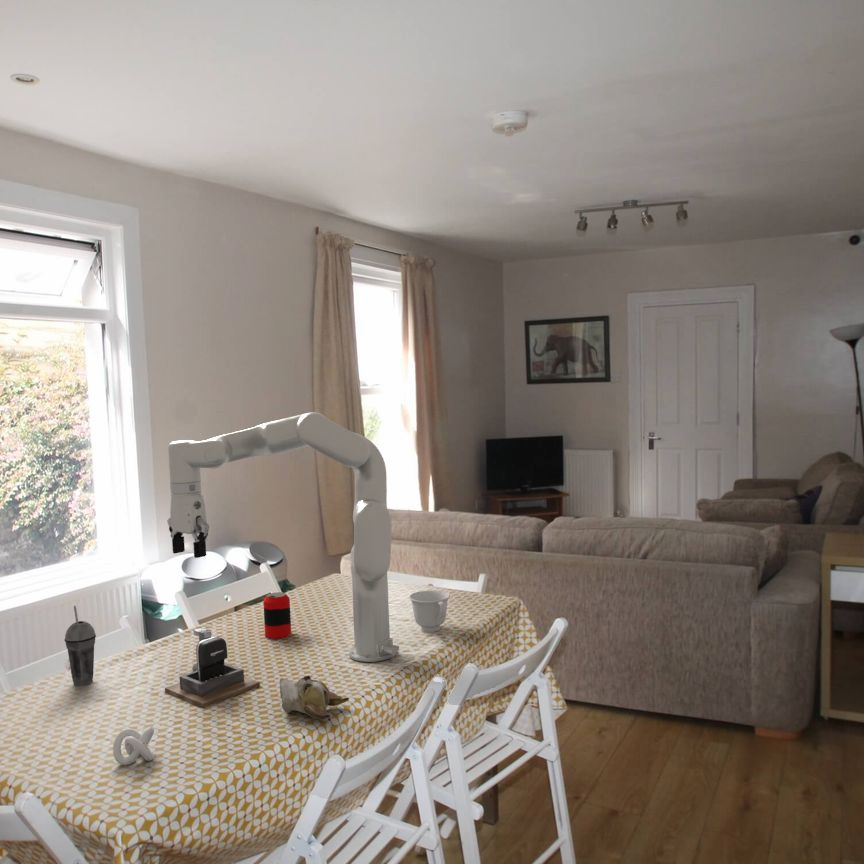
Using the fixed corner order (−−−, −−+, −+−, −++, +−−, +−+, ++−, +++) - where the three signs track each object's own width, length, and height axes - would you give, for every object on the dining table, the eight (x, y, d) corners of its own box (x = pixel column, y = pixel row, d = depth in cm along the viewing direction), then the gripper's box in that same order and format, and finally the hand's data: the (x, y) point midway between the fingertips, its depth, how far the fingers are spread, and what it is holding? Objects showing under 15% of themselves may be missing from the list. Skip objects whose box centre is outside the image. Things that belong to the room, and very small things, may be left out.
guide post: (226, 668, 207) (224, 630, 206) (202, 676, 201) (200, 637, 201) (210, 662, 211) (208, 625, 211) (187, 670, 206) (185, 632, 205)
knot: (134, 747, 162) (132, 720, 162) (167, 751, 160) (166, 723, 160) (109, 765, 155) (107, 736, 155) (143, 769, 153) (142, 740, 152)
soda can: (259, 637, 231) (257, 597, 230) (274, 630, 238) (272, 590, 237) (282, 640, 228) (280, 599, 227) (296, 632, 235) (294, 592, 234)
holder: (259, 685, 193) (259, 669, 193) (203, 707, 181) (202, 690, 181) (221, 672, 204) (220, 656, 204) (165, 691, 192) (164, 675, 191)
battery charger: (206, 692, 188) (204, 644, 187) (197, 688, 190) (194, 641, 190) (231, 682, 193) (228, 636, 193) (221, 679, 196) (219, 634, 195)
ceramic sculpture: (292, 663, 183) (350, 672, 178) (291, 699, 184) (350, 710, 179) (267, 680, 173) (329, 691, 168) (267, 718, 174) (328, 730, 169)
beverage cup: (105, 678, 202) (100, 601, 201) (84, 689, 195) (79, 609, 194) (82, 676, 204) (77, 599, 203) (60, 686, 198) (55, 607, 196)
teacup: (426, 641, 223) (424, 606, 222) (403, 627, 236) (402, 594, 235) (463, 633, 228) (462, 599, 228) (439, 620, 242) (438, 588, 241)
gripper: (218, 488, 200) (221, 555, 201) (180, 485, 212) (183, 548, 213) (192, 492, 195) (195, 561, 196) (154, 488, 206) (158, 553, 207)
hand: (189, 554), depth 204 cm, fingers open, 9 cm apart
